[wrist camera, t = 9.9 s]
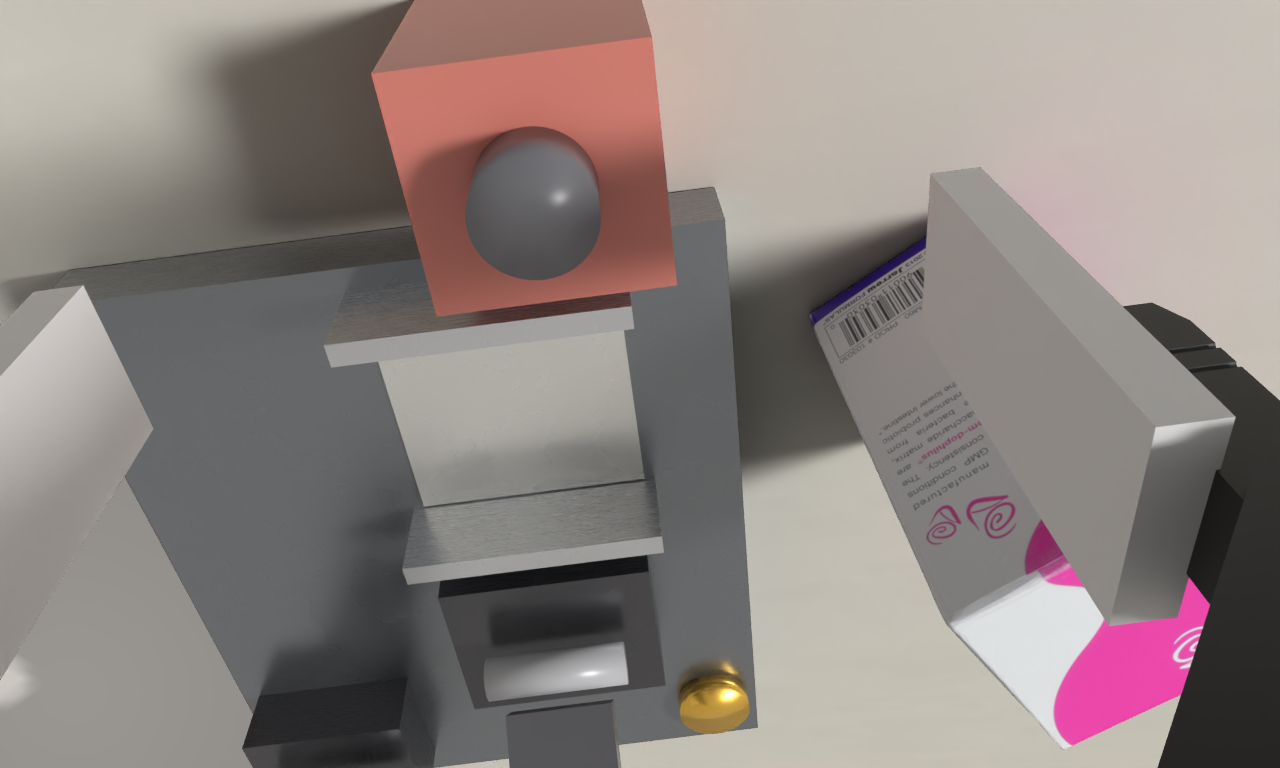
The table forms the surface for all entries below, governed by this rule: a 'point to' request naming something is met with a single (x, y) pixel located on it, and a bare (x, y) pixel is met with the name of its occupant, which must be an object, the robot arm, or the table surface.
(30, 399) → the robot arm
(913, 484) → the supplement box
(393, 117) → the cap
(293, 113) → the table surface
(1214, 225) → the table surface
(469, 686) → the metal switch board
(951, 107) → the table surface
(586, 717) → the switch lever
